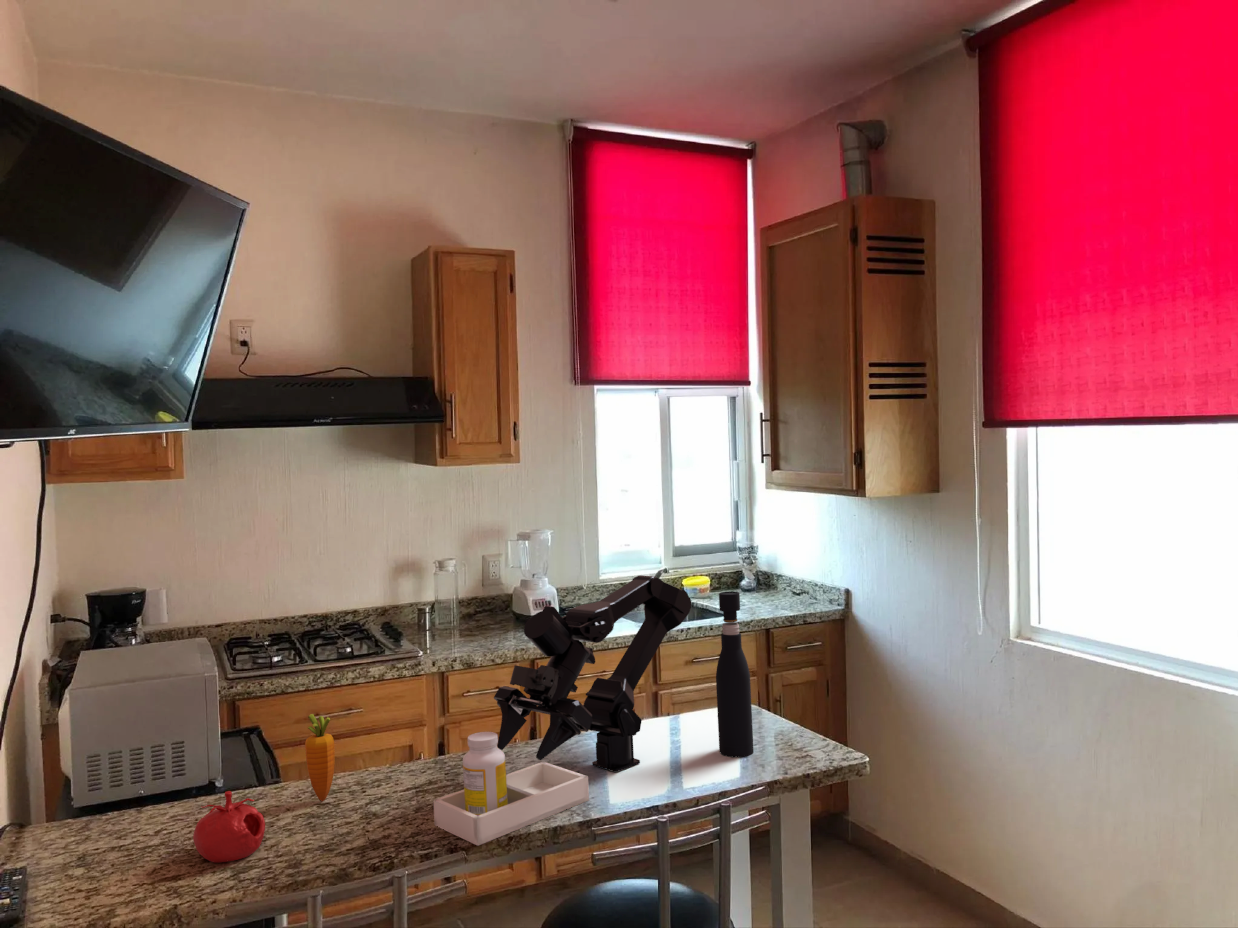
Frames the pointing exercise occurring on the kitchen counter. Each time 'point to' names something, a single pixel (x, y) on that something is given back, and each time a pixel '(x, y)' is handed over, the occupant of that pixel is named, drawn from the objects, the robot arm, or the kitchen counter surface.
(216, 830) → the red tomato
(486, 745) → the supplement bottle
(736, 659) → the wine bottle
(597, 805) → the kitchen counter surface
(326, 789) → the carrot
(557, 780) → the slot organizer
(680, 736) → the kitchen counter surface
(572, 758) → the kitchen counter surface
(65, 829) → the kitchen counter surface
